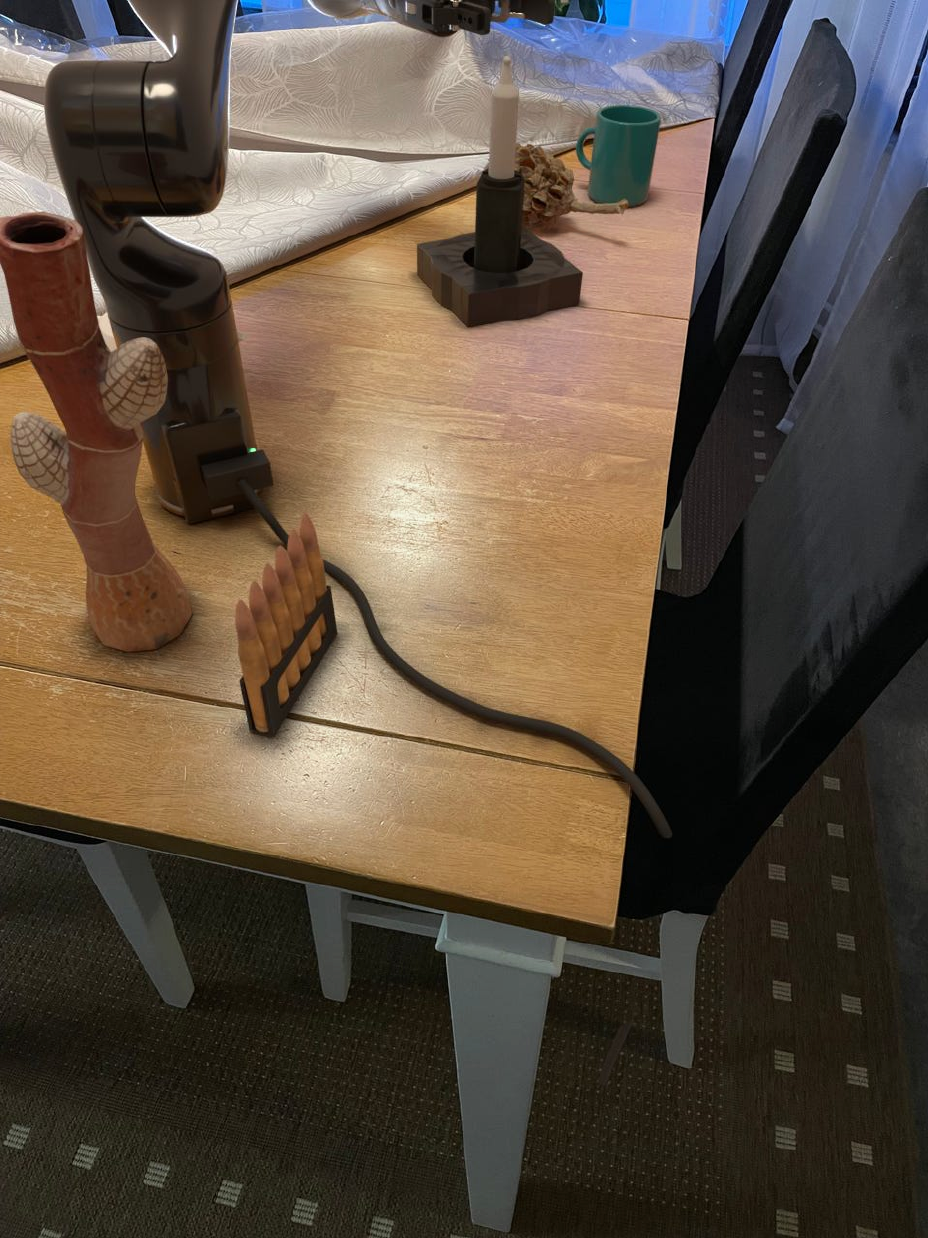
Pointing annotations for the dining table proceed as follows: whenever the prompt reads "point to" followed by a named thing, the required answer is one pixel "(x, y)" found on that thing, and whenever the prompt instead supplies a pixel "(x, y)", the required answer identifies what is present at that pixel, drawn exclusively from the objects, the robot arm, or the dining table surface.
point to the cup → (621, 153)
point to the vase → (90, 430)
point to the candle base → (498, 280)
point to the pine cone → (551, 189)
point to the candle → (500, 186)
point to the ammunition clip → (284, 630)
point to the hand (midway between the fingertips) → (520, 17)
